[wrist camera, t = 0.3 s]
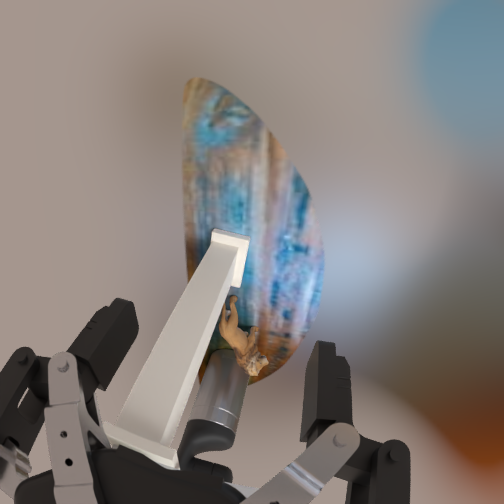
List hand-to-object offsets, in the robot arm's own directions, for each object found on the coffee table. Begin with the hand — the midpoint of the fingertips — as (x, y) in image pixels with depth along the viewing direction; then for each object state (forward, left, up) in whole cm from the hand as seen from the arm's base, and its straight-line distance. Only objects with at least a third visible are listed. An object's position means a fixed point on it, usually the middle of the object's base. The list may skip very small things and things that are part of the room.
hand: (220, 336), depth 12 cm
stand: (-16, +5, -29) cm, 34 cm away
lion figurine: (-29, 0, -30) cm, 42 cm away
